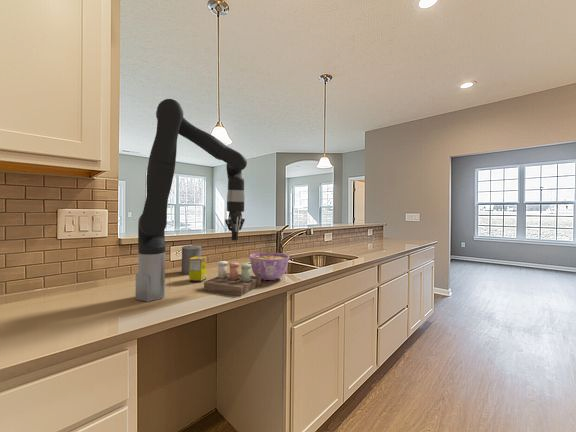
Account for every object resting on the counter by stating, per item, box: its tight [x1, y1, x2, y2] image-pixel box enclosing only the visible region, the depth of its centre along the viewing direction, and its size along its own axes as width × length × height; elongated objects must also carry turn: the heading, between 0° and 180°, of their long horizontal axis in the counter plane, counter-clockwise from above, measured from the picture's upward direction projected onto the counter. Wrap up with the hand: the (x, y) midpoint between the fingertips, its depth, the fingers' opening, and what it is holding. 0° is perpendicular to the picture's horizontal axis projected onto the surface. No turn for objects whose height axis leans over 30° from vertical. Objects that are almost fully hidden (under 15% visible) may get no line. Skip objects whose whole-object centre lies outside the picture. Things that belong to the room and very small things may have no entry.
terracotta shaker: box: [228, 261, 240, 280], centre depth 121 cm, size 4×4×7 cm
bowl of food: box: [249, 251, 290, 281], centre depth 137 cm, size 20×20×12 cm
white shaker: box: [217, 260, 229, 279], centre depth 123 cm, size 4×4×7 cm
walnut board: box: [203, 272, 262, 297], centre depth 121 cm, size 18×18×4 cm
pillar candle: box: [181, 244, 202, 275], centre depth 145 cm, size 10×10×15 cm
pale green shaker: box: [240, 263, 252, 282], centre depth 119 cm, size 4×4×7 cm
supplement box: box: [188, 256, 207, 283], centre depth 130 cm, size 6×6×11 cm
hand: (234, 240), depth 120 cm, fingers closed
